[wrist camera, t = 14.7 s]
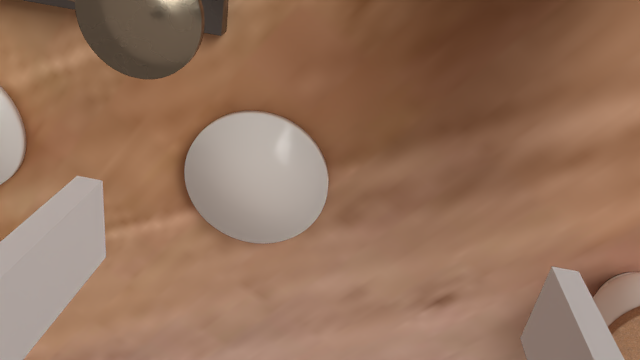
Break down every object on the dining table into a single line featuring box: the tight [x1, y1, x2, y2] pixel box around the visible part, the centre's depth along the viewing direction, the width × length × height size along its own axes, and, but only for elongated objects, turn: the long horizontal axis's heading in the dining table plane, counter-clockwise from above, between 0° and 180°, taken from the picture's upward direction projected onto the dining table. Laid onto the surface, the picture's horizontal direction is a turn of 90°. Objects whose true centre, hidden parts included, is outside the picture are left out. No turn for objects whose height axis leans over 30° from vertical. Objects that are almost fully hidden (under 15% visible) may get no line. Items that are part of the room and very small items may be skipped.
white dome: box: [184, 110, 329, 244], centre depth 49 cm, size 13×13×2 cm
